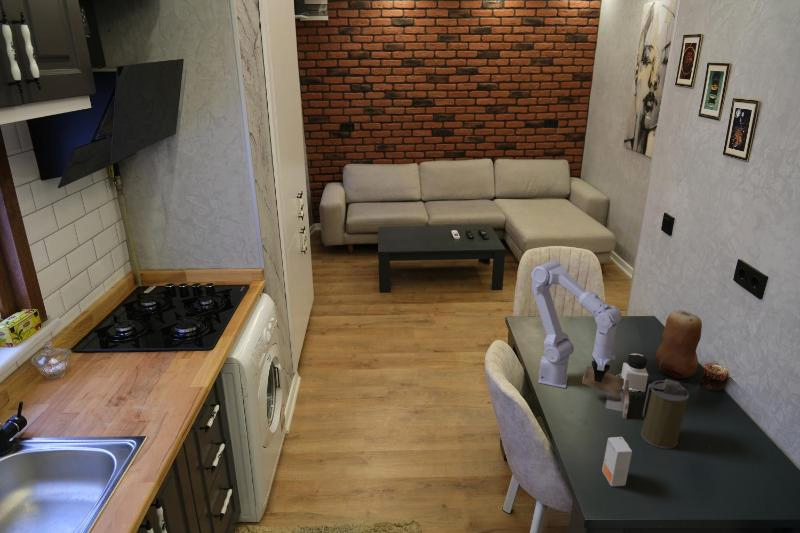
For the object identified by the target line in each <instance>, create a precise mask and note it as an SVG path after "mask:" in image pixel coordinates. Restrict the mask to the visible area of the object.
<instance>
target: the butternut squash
mask: <svg viewBox="0 0 800 533" xmlns="http://www.w3.org/2000/svg"><path fill="white" fill-rule="evenodd" d="M702 323H703V322H702V320H701V318H700V317H699V316H697V315H695V314H693V313H691V312H688V311H687V310H683V309H677V310H674V311H672V312H670V314H668V316H667V318H666V321H665V325H664V330H663V332H662V334H661V339H662V342H661V343H660V345H659V346H658V348H657V350H656V352H655V353H656V354H655V357H654V358H653V359H654V362H655V364H656V367H657V368H658V369H659V371H660V372H662V373H663V374H664V375H667V376H669V377H671V378H672V379H680V380H681V379H687V378H689V377H691V376H693V375H695V373H696V371H697V369H698V366H699V360H698V354H697V348H698V346H699V343H700V341H701V338H702V328H703V324H702Z"/></svg>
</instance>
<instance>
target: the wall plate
mask: <svg viewBox="0 0 800 533" xmlns="http://www.w3.org/2000/svg"><path fill="white" fill-rule="evenodd" d="M622 391H623V392H622V393H624V407H623V412H622V419H625V420H626V419H627V416H628V415H627V414H628V411H629V407H630V406H629V404H630V391H629V380H625V385H624V389H623V390H622Z"/></svg>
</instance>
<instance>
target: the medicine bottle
mask: <svg viewBox="0 0 800 533" xmlns="http://www.w3.org/2000/svg"><path fill="white" fill-rule="evenodd" d="M647 363H648V358H647V357H646V356H644V355H643V354H640V353H631V354H628V357H627V362H623V364H622V370H621V374H620V377H621V376H622V378H623V379H624V385H625V380H629V388H632V389H636V390H639V391H641V392H640V393H645V392H646V389H647V386H648V385H647V384H648V380H649V373H648V371H647Z"/></svg>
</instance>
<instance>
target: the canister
mask: <svg viewBox="0 0 800 533" xmlns="http://www.w3.org/2000/svg"><path fill="white" fill-rule="evenodd" d="M689 397H690V393H689V391H688V390H687V388H685V387H684V386H682V385H681V382H680V381H676V380H672V379H667V378H666V379H664V380H663V379H662V380H661V379H660V380H654V381H653V382H651V383H648V385H647V391H646V396H645V401H644V406H643V410H642V417H643V424H642V428H641V430H640V436H641V438H642V439H643V440H644V441H645V442H646V443H648V444H649V445H651V446H652V447H655V448H658V449H662V450H667V449H668V450H670V449H674V448H675V447H677V445H678V444H679V443H678V442H679V440H678V439H679V436H680V431H681V428H682V422H683V419H684V416H685V411H686V407H687V404H688V403H687V402H688V399H689Z"/></svg>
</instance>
